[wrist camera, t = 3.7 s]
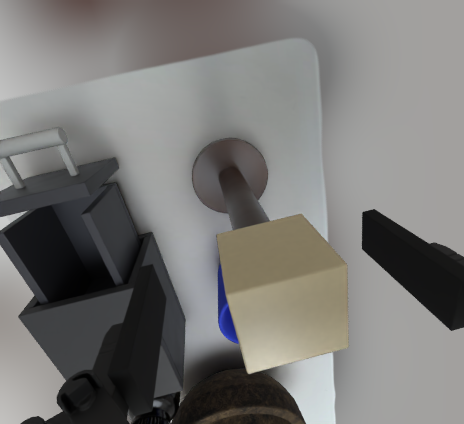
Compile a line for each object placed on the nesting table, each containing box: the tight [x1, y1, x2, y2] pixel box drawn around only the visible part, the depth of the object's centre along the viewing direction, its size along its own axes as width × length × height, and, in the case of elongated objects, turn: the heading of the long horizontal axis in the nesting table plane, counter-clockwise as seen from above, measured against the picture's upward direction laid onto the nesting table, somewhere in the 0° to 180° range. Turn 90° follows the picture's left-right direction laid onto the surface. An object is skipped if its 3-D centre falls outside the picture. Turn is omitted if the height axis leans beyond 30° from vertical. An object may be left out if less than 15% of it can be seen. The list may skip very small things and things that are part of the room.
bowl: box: [171, 369, 306, 424], centre depth 44 cm, size 22×22×10 cm
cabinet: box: [18, 232, 186, 398], centre depth 32 cm, size 16×11×11 cm
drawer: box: [0, 127, 142, 305], centre depth 27 cm, size 19×10×9 cm, turn 11°
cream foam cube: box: [216, 214, 349, 374], centre depth 14 cm, size 5×5×5 cm
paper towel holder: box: [192, 138, 270, 230], centre depth 24 cm, size 9×9×18 cm
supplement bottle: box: [128, 391, 180, 424], centre depth 37 cm, size 7×7×12 cm
